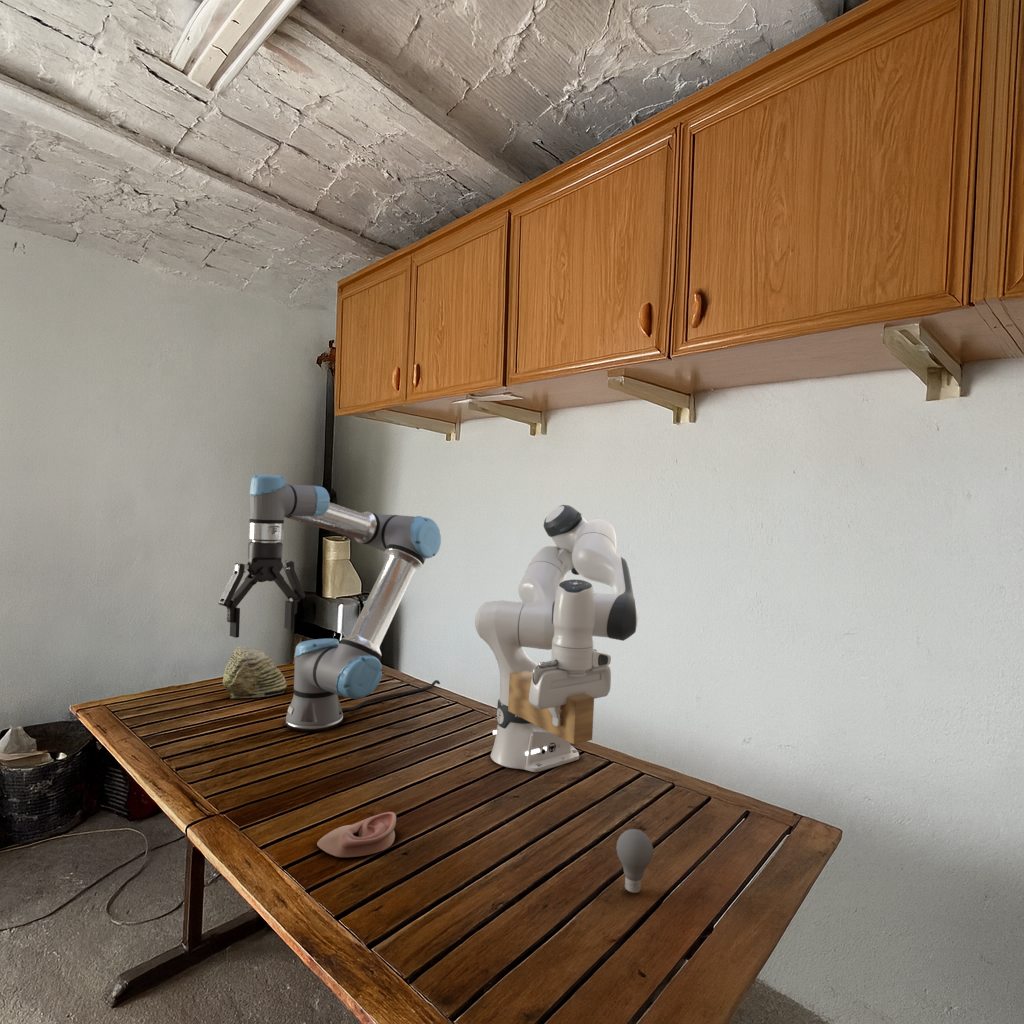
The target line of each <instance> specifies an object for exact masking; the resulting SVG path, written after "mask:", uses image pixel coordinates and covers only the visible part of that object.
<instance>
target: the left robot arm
mask: <svg viewBox="0 0 1024 1024" xmlns="http://www.w3.org/2000/svg"><path fill="white" fill-rule="evenodd" d="M250 479H251V480H250V486H249V487H250V488H249V517H248V518H249V520H248V522H249V523H248V540H250V541H249V542H248V544H247V559H248V561H247V563H240V562H235V563H234V565H233V571H232V574H231V575H230V578H229V579H228V582H227V583H226V586H225V587H224V589H223V592H222V593H221V596H220V598H219V600H218V602H217V603H218V605H220V606H223V607H225V608H226V622H227V623H229V636H230V637H232V638H235V639H236V638H240V622H241V621H240V620H241V619H240V618H241V608H240V607H238V606H239V604H240V603H241V602H242V600H243V599H244V598H245V597H246V595H248V593H249V592H250V590H251V589H252V588H253V587H254V586H255V585H256V584H258V583H265V582H274V583H275V584H276V586H277V587H278V588H279V589H280V591H281V592H282V593H283V594H284V595H285V597H286V598H287V599H288V600H284V601H285V602H284V603H285V604H284V626H283V628H284V629H286V630H290V631H292V630H294V625H295V615H297V612H298V603H299V602H301V599H304V598H305V597H306V594H305V592H304V591H305V590H304V589H303V586H302V584H301V582H300V580H299V577H298V575H297V572H296V570H295V562H294V561H293V560H288V559H286V560H285V561H283V560H282V559H283V556H284V544H283V542H281V541H283V540H284V525H285V524H284V523H285V518H286V519H290V520H294V521H297V522H300V523H302V524H306V525H310V526H313V527H316V528H319V529H324V530H327V531H331V532H334V533H338V534H341V535H344V536H347V537H351V538H354V540H355V541H356V542H357V543H359V544H362V545H366V546H368V547H372V548H374V549H377V550H379V551H382V552H384V553H385V556H386V560H385V562H384V564H383V565H382V568H381V571H380V572H379V574H378V577H377V579H376V581H375V583H374V584H373V586H372V589H371V591H370V592H369V595H368V597H367V599H366V601H365V603H364V605H363V607H362V608H361V609H362V610H361V611H360V613H359V615H358V618H357V620H356V621H355V624H354V626H353V628H352V630H351V633H350V634H349V635H347V636H344V637H342V638H341V640H340V641H339V639H337V638H317V639H316V638H315V639H308V640H304V641H300V642H299V643H298V644H297V645H296V646H295V650H294V651H295V652H294V655H293V658H294V672H293V673H294V674H293V695H292V696H293V697H292V699H291V702H290V704H289V706H288V708H287V713H286V715H285V726H286V728H287V729H289V730H291V731H294V732H295V731H296V732H301V733H316V732H325V731H329V730H332V729H335V728H337V727H339V726H340V725H342V723H343V722H344V714H343V712H352V711H355V710H357V709H359V708H361V707H362V706H365V705H366V704H369V703H372V702H376V701H380V700H383V699H390V698H394V697H400V696H405V695H406V696H407V695H410V694H415V693H420V692H423V691H426V690H429V689H431V688H433V687H434V686H435V685H440V684H441V682H440V681H439V680H438V679H435V680H434V681H433V682H432V683H431V684H430V685H431V686H429V685H426V686H423V687H420V688H415V689H411V690H406V691H401V692H395V693H390V694H389V693H388V694H384V695H380V696H376V697H372V698H368V699H366V700H363V701H361V702H360V703H358V704H356V705H354V706H350V707H342V706H341V702H340V699H339V696H340V697H342V698H345V699H351V700H362V699H365V698H366V697H368V696H369V695H371V694H372V693H373V692H374V691H375V690H376V689H377V688H378V686H379V685H380V682H381V680H382V677H383V671H382V670H383V666H382V663H381V658H382V656H383V655H382V652H381V649H380V647H381V644H382V643H383V640H384V638H385V636H386V634H387V632H388V630H389V628H390V625H391V623H392V621H393V619H394V617H395V614H396V612H397V609H398V608H399V606H400V603H401V602H402V599H403V597H404V595H405V592H406V590H407V588H408V586H409V584H410V582H411V579H412V577H413V575H414V573H415V571H417V570H420V569H422V568H423V566H424V564H425V562H426V559H431V558H433V557H435V556H436V555H437V554H438V552H440V548H441V544H442V535H441V531H440V530H441V529H440V528H439V525H438V524H437V523H436V521H434V520H433V519H432V518H430V517H424V516H421V515H417V516H414V515H413V516H412V515H400V514H381V513H375V512H371V511H364V512H361V511H358V510H354V509H353V508H352V509H351V508H349V507H346V506H342V505H340V504H336V503H333V502H331V501H330V500H331V497H330V493H329V492H328V490H327V489H326V488H325V487H323V486H318V485H314V484H313V485H312V484H311V485H306V484H305V485H304V484H288V483H287V482H286V477H285V475H284V476H283V475H276V474H275V475H274V474H254V475H253V476H252V477H251V478H250ZM282 570H284V573H285V575H286V577H287V581H288V582H289V583H288V582H287V581H286V580H285V577H284V576H283V575H282V573H281V571H282ZM247 572H248V574H247V575H246V577H244V574H245V573H247ZM243 577H244V579H243ZM242 579H243V582H242ZM241 582H242V583H241ZM240 583H241V584H240ZM289 584H290V585H289ZM239 585H240V586H239Z"/></svg>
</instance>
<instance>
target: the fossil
mask: <svg viewBox="0 0 1024 1024" xmlns="http://www.w3.org/2000/svg"><path fill="white" fill-rule="evenodd" d="M222 676H223V677H222V685H223V687H224V688H225V690H226V691H228V693H229V698H230V699H250V698H264V697H271V696H275V695H281V694H284V693H285V691H286V689H287V687H288V686H287V680H286V678H285V676H284V674H283V673H282V672H281V669H279V668H278V667H277V665H276V663H275V662H274V660H273V659H272V658H271V657H270V656H269V655H268V654H267V653H266V652H265V650H264V649H263V648H260V647H258V648H251V647H247V646H246V647H245V646H238V647H237V648H236V649H235V650H233V651H232V653H231V656H230V657H229V659H228V660H227V663H226V666H225V668H224V671H223V675H222Z"/></svg>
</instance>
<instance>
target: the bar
mask: <svg viewBox="0 0 1024 1024" xmlns="http://www.w3.org/2000/svg"><path fill="white" fill-rule="evenodd" d="M532 674H533V673H532V672H530V671H520V672H514V673H510V681H509V703H508V711H509V712H511V713H513V714H515V715H517V716H519V717H521V718H523V719H525V720H527V721H529V722H531V723H533V724H535V725H537V726H539V727H540V728H542V729H544V730H546V731H548V732H550V733H552V734H554V735H556V736H558V737H560V738H562V739H564V740H566V741H568V742H570V744H571V745H578V744H581V743H585V742H590V741H593V729H594V710H595V709H594V708H595V699H594V697H592V696H589V695H587V694H581V695H576V696H571V697H567V703H566V705H561V706H560V710H559V711H558V713H559V715H560V716H561V717H563V725H561V726H554V725H553V723H552V719H553V716H552V715H551V713H550V711H549V709H548V708H546V709H538V708H536V707H534V706H532V705H531V704H530V702H529V692H530V686H531V680H532Z"/></svg>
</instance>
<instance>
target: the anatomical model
mask: <svg viewBox="0 0 1024 1024" xmlns="http://www.w3.org/2000/svg"><path fill="white" fill-rule="evenodd" d="M396 824H397V814H396V813H395V812H393V811H387V812H382V813H379V814H376V815H373V816H370V817H367V818H365V819H363V820H360V821H358V822H354V823H352V824H346V825H342V826H339V827H337V828H334V829H332V830H331V831H329V832H328V833H326V834H324V835H323V836H322V837H321V838H320V839H319V840H317V842H316V845H317V847H318V848H319V849H320V850H322V851H323V852H325V853H327V854H329V855H331V856H334V857H336V858H354V857H355V858H356V857H364V856H369V855H374V854H377V853H379V852H383V851H385V850H386V849H388V848H390V847H391V846H392V845H393V844H394V842H395V838H396V832H395V827H396Z"/></svg>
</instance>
